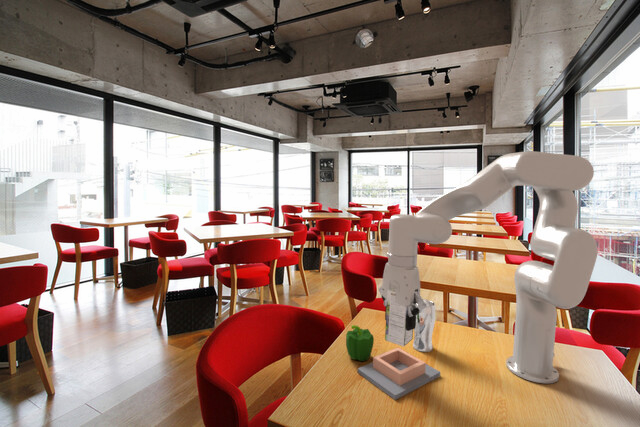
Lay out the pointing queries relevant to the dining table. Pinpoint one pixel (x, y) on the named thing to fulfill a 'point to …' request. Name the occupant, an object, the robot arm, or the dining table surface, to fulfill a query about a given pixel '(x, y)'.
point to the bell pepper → (359, 343)
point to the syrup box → (396, 322)
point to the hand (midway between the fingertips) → (399, 323)
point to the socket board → (398, 372)
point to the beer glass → (424, 328)
